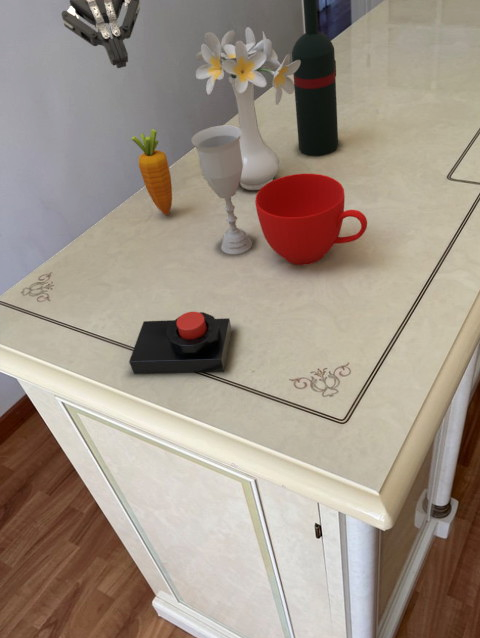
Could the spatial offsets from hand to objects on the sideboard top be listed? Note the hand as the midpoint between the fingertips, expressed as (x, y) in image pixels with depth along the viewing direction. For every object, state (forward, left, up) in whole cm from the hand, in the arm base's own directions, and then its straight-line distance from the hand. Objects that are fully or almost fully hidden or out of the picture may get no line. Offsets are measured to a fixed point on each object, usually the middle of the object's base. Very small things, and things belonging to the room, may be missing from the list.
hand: (121, 64), depth 93 cm
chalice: (+17, -17, -24) cm, 33 cm away
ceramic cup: (+30, -21, -24) cm, 43 cm away
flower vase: (+19, +4, -24) cm, 30 cm away
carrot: (+3, -6, -24) cm, 24 cm away
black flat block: (+13, -42, -23) cm, 50 cm away
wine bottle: (+30, +18, -24) cm, 42 cm away
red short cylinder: (+15, -42, -20) cm, 48 cm away
